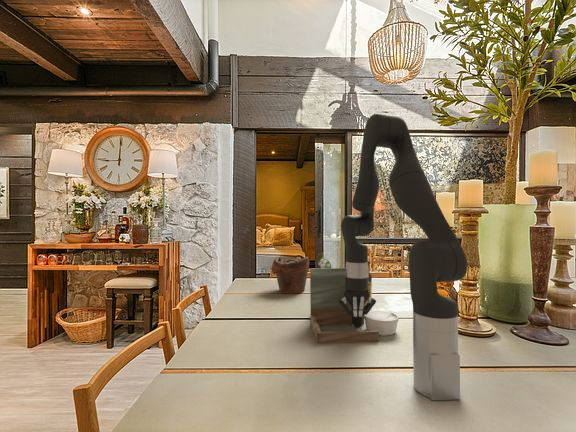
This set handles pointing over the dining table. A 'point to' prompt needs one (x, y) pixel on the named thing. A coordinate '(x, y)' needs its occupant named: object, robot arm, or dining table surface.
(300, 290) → the brown flower pot
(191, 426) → the dining table surface
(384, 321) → the ramekin
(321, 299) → the cold frame
